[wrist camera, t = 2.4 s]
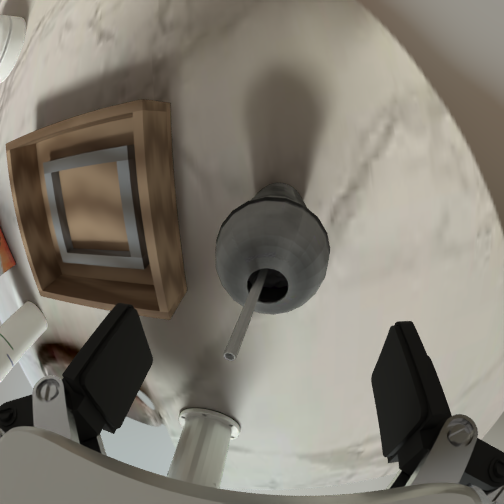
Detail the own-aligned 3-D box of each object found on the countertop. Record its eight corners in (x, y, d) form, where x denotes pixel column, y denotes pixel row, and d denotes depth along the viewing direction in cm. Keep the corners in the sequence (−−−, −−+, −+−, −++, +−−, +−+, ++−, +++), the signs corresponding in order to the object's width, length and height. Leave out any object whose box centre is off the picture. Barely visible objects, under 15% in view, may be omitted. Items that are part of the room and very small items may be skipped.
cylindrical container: (33, 326, 45) (-30, 399, 23) (21, 298, 42) (-51, 371, 20) (52, 332, 44) (-14, 415, 22) (39, 304, 41) (-38, 386, 19)
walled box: (187, 290, 34) (170, 319, 29) (63, 276, 37) (40, 295, 31) (170, 102, 25) (142, 99, 19) (36, 136, 27) (5, 143, 22)
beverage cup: (325, 223, 28) (369, 382, 10) (261, 247, 30) (221, 411, 12) (298, 157, 26) (321, 230, 8) (231, 186, 28) (130, 300, 10)
